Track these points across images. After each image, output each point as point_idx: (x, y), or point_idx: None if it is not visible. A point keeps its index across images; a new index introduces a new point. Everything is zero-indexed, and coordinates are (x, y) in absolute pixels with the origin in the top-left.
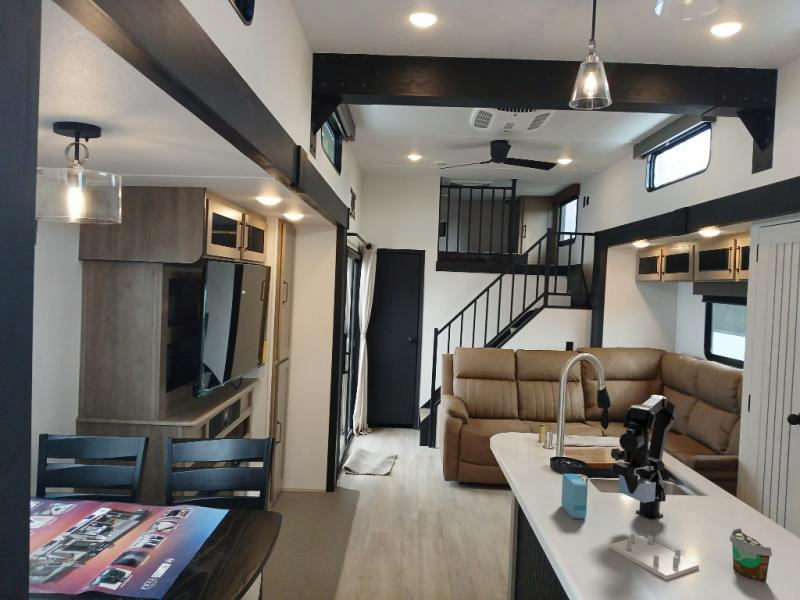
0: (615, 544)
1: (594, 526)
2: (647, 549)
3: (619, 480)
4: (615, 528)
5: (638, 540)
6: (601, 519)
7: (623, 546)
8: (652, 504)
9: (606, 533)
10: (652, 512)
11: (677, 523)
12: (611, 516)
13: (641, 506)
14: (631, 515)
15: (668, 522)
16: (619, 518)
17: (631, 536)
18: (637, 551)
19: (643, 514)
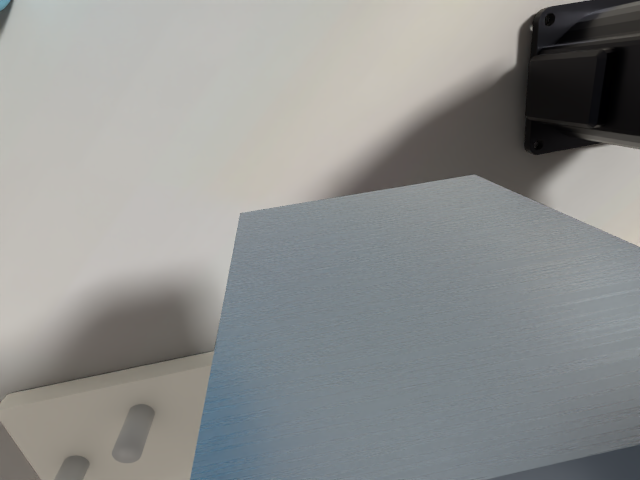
0: (30, 414)
1: (43, 144)
2: (183, 462)
3: (225, 329)
4: (191, 204)
5: (198, 395)
6: (172, 47)
7: (67, 434)
8: (632, 143)
9: (83, 251)
10: (581, 135)
11: (611, 227)
12: (293, 19)
13: (567, 76)
14: (459, 51)
15: (580, 206)
16: (331, 72)
17: (115, 455)
18: (116, 473)
19: (526, 99)
